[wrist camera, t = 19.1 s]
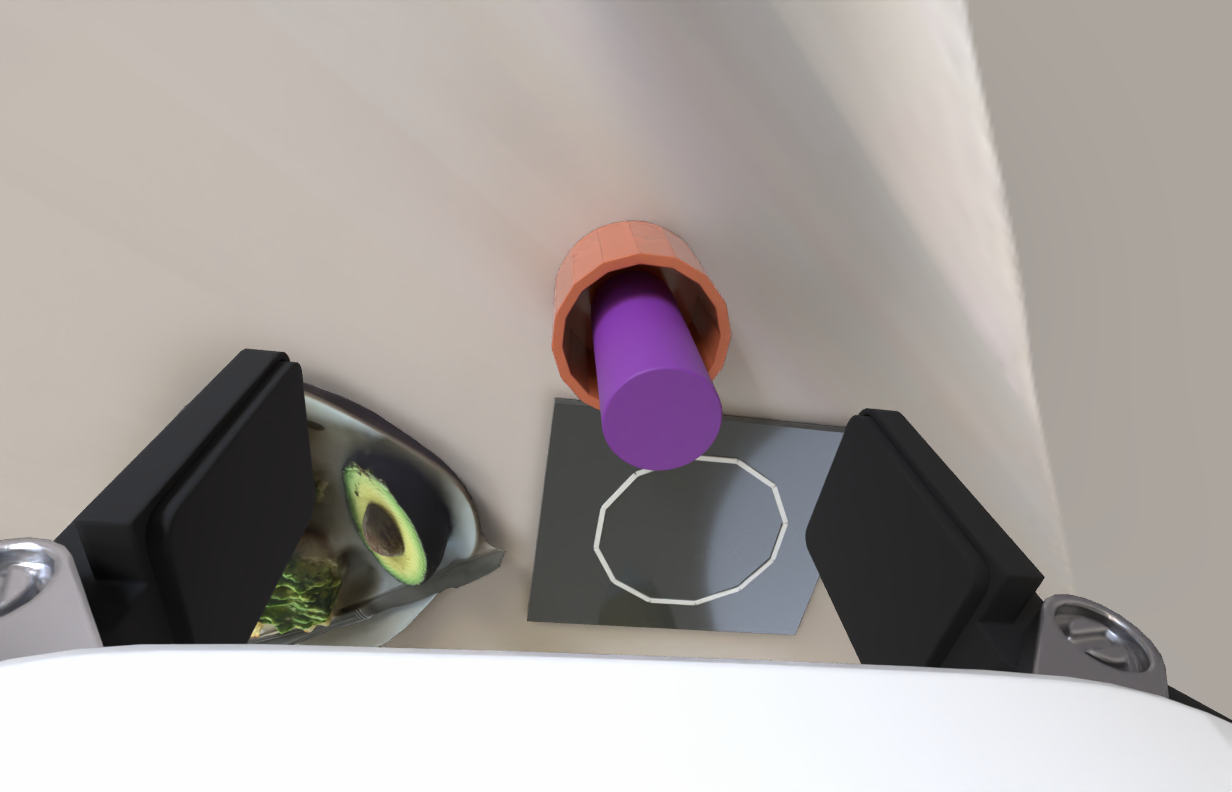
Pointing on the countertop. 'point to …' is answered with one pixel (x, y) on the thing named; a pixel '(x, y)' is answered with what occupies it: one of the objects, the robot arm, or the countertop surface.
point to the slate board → (680, 528)
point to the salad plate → (372, 534)
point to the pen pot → (622, 253)
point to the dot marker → (650, 375)
